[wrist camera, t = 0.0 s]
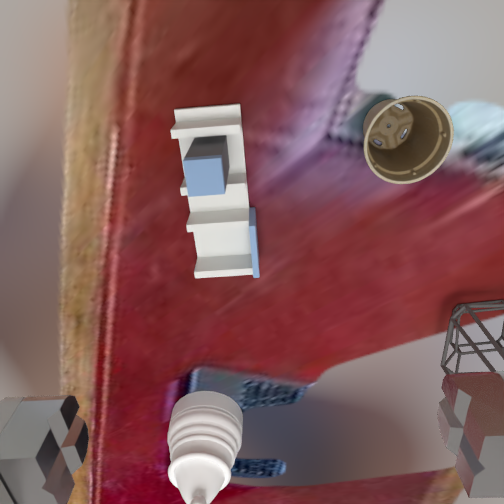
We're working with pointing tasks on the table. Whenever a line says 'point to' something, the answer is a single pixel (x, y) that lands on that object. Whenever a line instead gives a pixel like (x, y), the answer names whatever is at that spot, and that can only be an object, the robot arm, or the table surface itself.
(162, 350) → the table surface
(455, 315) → the geometric lantern
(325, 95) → the table surface
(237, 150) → the slotted rack with block
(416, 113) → the flower pot
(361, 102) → the table surface
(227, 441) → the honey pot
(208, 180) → the plug
